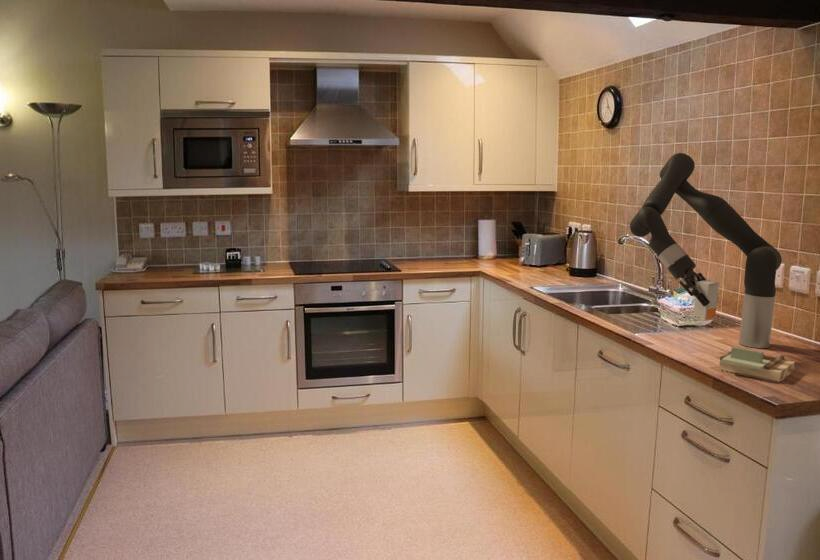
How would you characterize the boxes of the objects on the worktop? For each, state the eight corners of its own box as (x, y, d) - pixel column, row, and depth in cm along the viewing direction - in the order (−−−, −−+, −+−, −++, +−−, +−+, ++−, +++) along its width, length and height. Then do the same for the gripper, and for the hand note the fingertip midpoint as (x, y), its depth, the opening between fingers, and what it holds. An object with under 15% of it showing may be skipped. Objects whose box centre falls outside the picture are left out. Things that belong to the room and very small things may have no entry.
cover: (731, 355, 205) (733, 343, 204) (770, 363, 198) (772, 350, 197) (721, 361, 199) (722, 348, 198) (761, 369, 192) (762, 356, 191)
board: (736, 359, 213) (738, 347, 213) (794, 371, 203) (795, 358, 202) (719, 370, 202) (720, 356, 201) (778, 382, 191) (780, 368, 190)
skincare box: (705, 321, 212) (708, 283, 210) (692, 319, 216) (696, 281, 214) (716, 319, 216) (719, 281, 214) (703, 317, 219) (706, 279, 217)
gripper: (676, 266, 227) (709, 307, 221) (658, 270, 217) (693, 313, 211) (694, 252, 223) (728, 293, 217) (677, 255, 212) (712, 298, 206)
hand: (711, 303), depth 214 cm, fingers closed on skincare box, 6 cm apart
